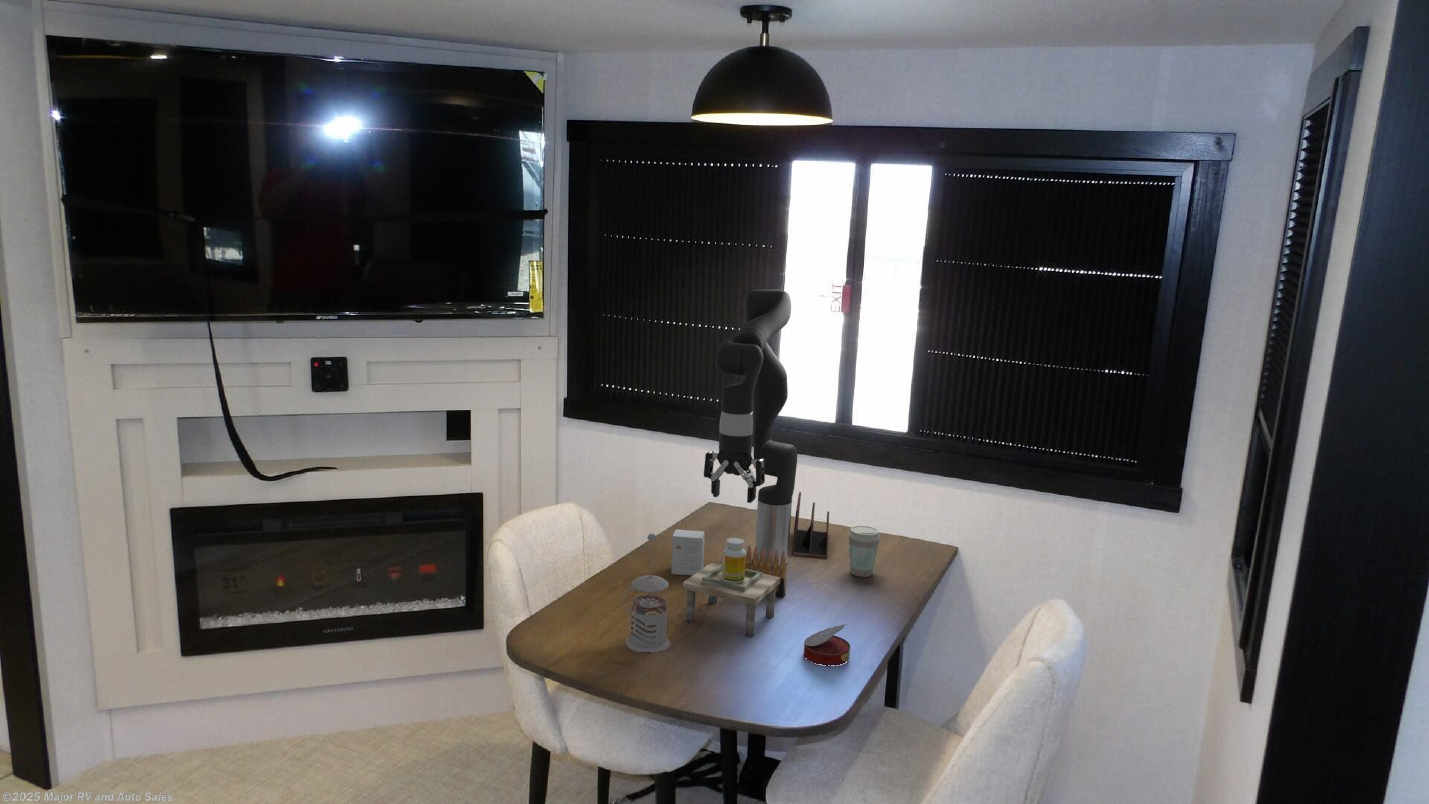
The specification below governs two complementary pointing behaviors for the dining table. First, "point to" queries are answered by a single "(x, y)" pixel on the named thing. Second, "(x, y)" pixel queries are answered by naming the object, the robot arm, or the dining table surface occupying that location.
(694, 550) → the small box
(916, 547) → the dining table surface
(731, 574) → the supplement bottle
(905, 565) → the dining table surface
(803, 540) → the letter holder
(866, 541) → the coffee cup
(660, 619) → the french press
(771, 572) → the ammunition clip
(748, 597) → the miniature tray table
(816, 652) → the canned food
